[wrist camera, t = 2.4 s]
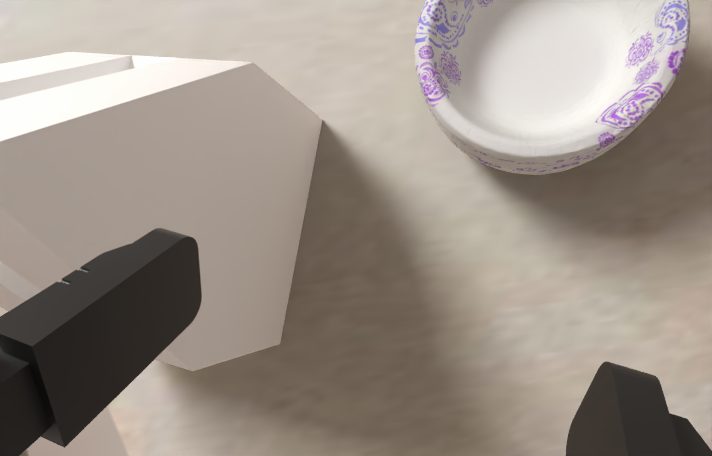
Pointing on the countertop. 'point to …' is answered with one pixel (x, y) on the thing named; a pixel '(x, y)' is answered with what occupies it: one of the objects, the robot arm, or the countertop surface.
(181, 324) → the robot arm
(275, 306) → the white house shaped block
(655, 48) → the paper bowls
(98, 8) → the countertop surface
